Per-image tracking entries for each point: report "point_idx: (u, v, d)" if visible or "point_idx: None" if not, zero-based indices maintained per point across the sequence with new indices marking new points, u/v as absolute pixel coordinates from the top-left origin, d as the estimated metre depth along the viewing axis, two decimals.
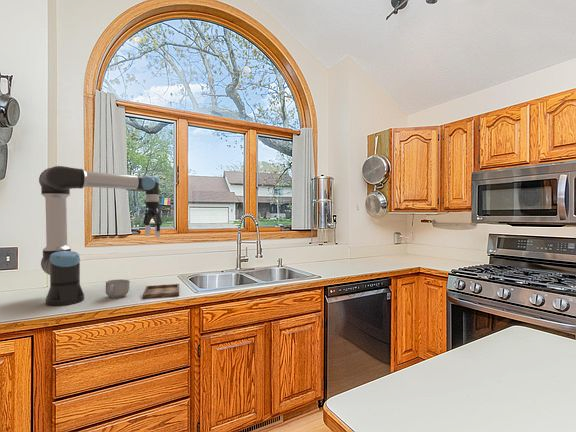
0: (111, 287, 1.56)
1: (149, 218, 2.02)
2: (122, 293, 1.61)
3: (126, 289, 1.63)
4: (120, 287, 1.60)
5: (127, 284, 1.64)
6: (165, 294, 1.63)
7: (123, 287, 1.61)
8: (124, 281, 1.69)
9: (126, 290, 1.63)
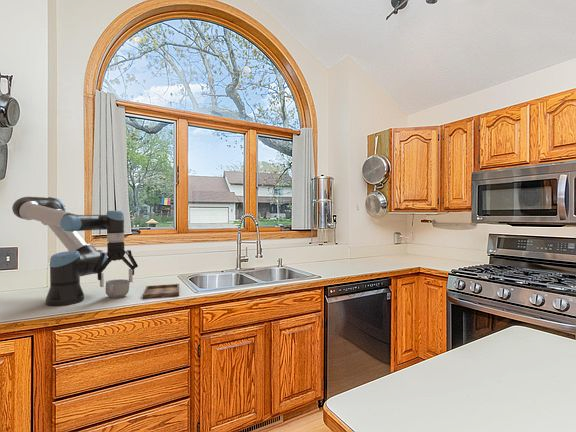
0: (111, 287, 1.56)
1: (124, 261, 1.65)
2: (122, 293, 1.61)
3: (126, 289, 1.63)
4: (120, 287, 1.60)
5: (127, 284, 1.63)
6: (165, 294, 1.63)
7: (123, 287, 1.61)
8: (124, 281, 1.69)
9: (126, 290, 1.63)
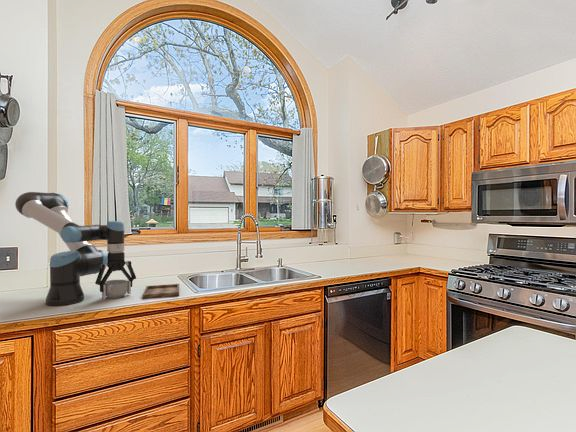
0: (109, 287, 1.55)
1: (123, 272, 1.65)
2: (120, 293, 1.60)
3: (124, 289, 1.62)
4: (118, 287, 1.60)
5: (125, 285, 1.63)
6: (165, 294, 1.63)
7: (121, 287, 1.60)
8: (122, 281, 1.68)
9: (124, 290, 1.62)
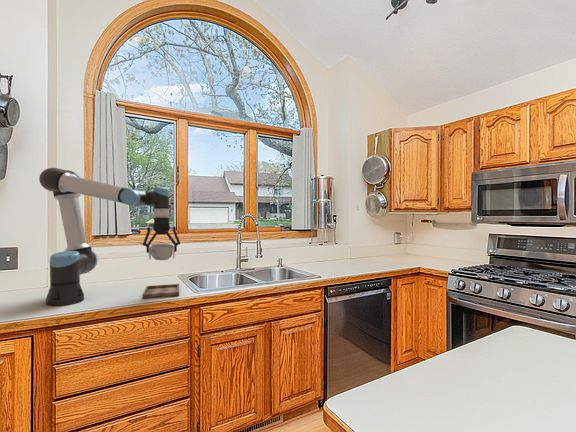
0: (150, 248, 1.65)
1: None
2: (162, 256, 1.68)
3: (166, 253, 1.69)
4: (160, 250, 1.68)
5: (168, 248, 1.70)
6: (165, 294, 1.63)
7: (162, 250, 1.68)
8: (170, 246, 1.76)
9: (166, 254, 1.69)
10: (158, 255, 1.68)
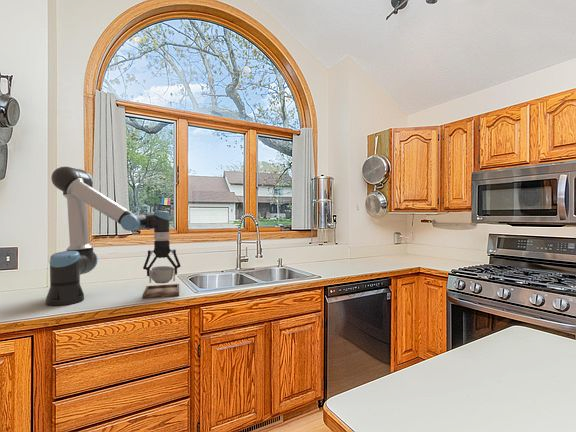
0: (150, 272, 1.65)
1: (169, 260, 1.73)
2: (162, 279, 1.69)
3: (167, 276, 1.70)
4: (160, 273, 1.68)
5: (168, 271, 1.70)
6: (165, 294, 1.63)
7: (163, 274, 1.68)
8: (171, 268, 1.77)
9: (167, 277, 1.70)
10: (158, 279, 1.68)
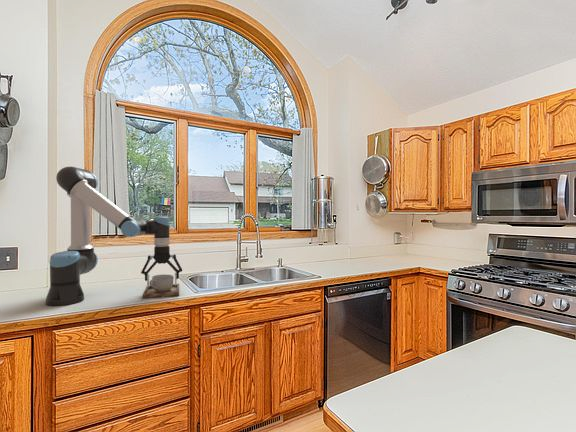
0: (150, 281, 1.65)
1: None
2: (163, 288, 1.69)
3: (167, 285, 1.70)
4: (160, 282, 1.68)
5: (168, 280, 1.70)
6: (165, 294, 1.63)
7: (163, 282, 1.68)
8: (171, 277, 1.77)
9: (167, 286, 1.70)
10: (159, 287, 1.68)
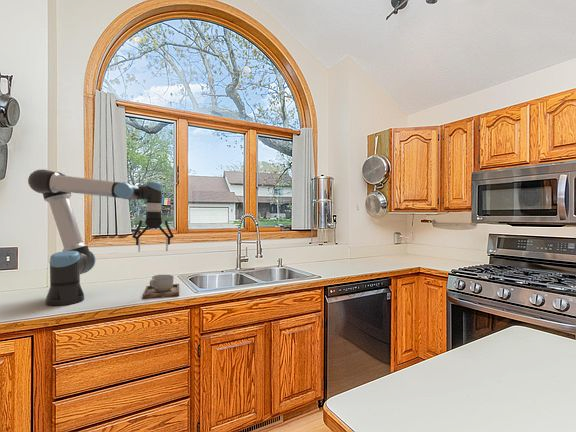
0: (151, 281, 1.65)
1: (161, 230, 1.75)
2: (163, 288, 1.69)
3: (167, 285, 1.70)
4: (160, 282, 1.68)
5: (168, 280, 1.70)
6: (165, 294, 1.63)
7: (163, 282, 1.68)
8: (171, 277, 1.77)
9: (167, 286, 1.70)
10: (159, 287, 1.68)
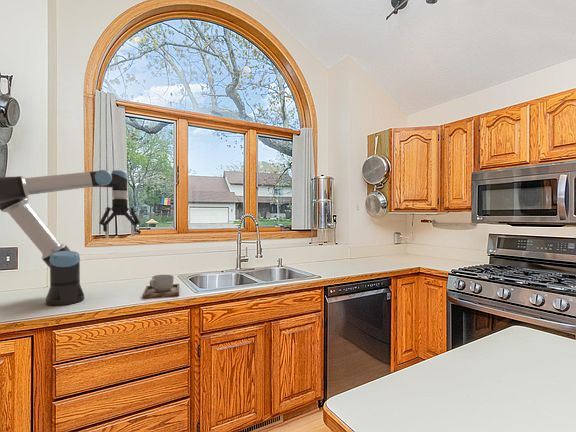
0: (151, 281, 1.65)
1: (127, 217, 1.84)
2: (163, 288, 1.69)
3: (167, 285, 1.70)
4: (160, 282, 1.68)
5: (168, 280, 1.70)
6: (165, 294, 1.63)
7: (163, 282, 1.68)
8: (171, 277, 1.77)
9: (167, 286, 1.70)
10: (159, 287, 1.68)
